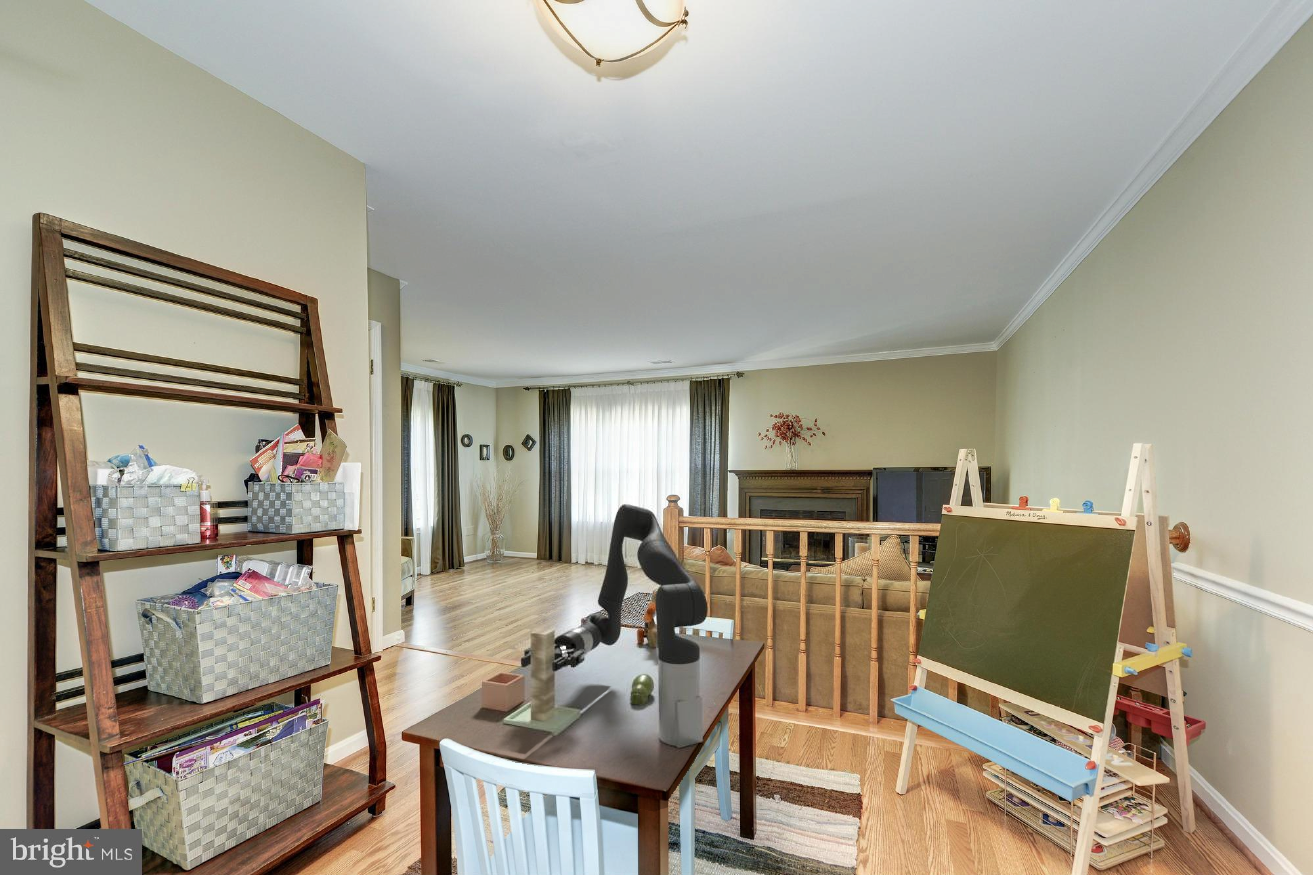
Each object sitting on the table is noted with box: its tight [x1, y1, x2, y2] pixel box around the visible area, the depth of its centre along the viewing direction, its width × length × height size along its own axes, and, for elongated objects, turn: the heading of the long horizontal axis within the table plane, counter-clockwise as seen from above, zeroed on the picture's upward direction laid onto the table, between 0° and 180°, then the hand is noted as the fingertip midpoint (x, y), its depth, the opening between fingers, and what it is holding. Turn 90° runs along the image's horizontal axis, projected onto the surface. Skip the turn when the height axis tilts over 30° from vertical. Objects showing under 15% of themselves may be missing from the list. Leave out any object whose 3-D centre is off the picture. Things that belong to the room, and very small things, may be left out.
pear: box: [629, 673, 655, 706], centre depth 153 cm, size 6×5×10 cm
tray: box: [503, 701, 581, 737], centre depth 140 cm, size 14×11×2 cm
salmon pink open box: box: [481, 671, 526, 712], centre depth 149 cm, size 7×7×7 cm
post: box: [530, 628, 556, 722], centre depth 141 cm, size 4×4×20 cm
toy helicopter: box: [636, 601, 658, 649], centre depth 195 cm, size 8×21×14 cm, turn 11°
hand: (537, 664), depth 139 cm, fingers open, 8 cm apart
